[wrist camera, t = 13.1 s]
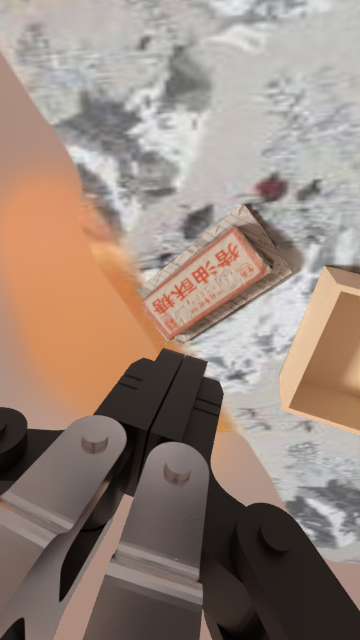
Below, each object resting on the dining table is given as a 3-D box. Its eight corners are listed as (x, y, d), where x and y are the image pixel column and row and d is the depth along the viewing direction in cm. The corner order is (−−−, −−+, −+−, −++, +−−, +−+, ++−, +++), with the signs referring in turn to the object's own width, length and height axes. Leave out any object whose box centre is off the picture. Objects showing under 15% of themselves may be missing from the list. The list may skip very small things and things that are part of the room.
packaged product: (174, 357, 42) (125, 299, 40) (182, 341, 46) (138, 288, 45) (296, 280, 34) (241, 204, 33) (293, 269, 39) (244, 201, 37)
